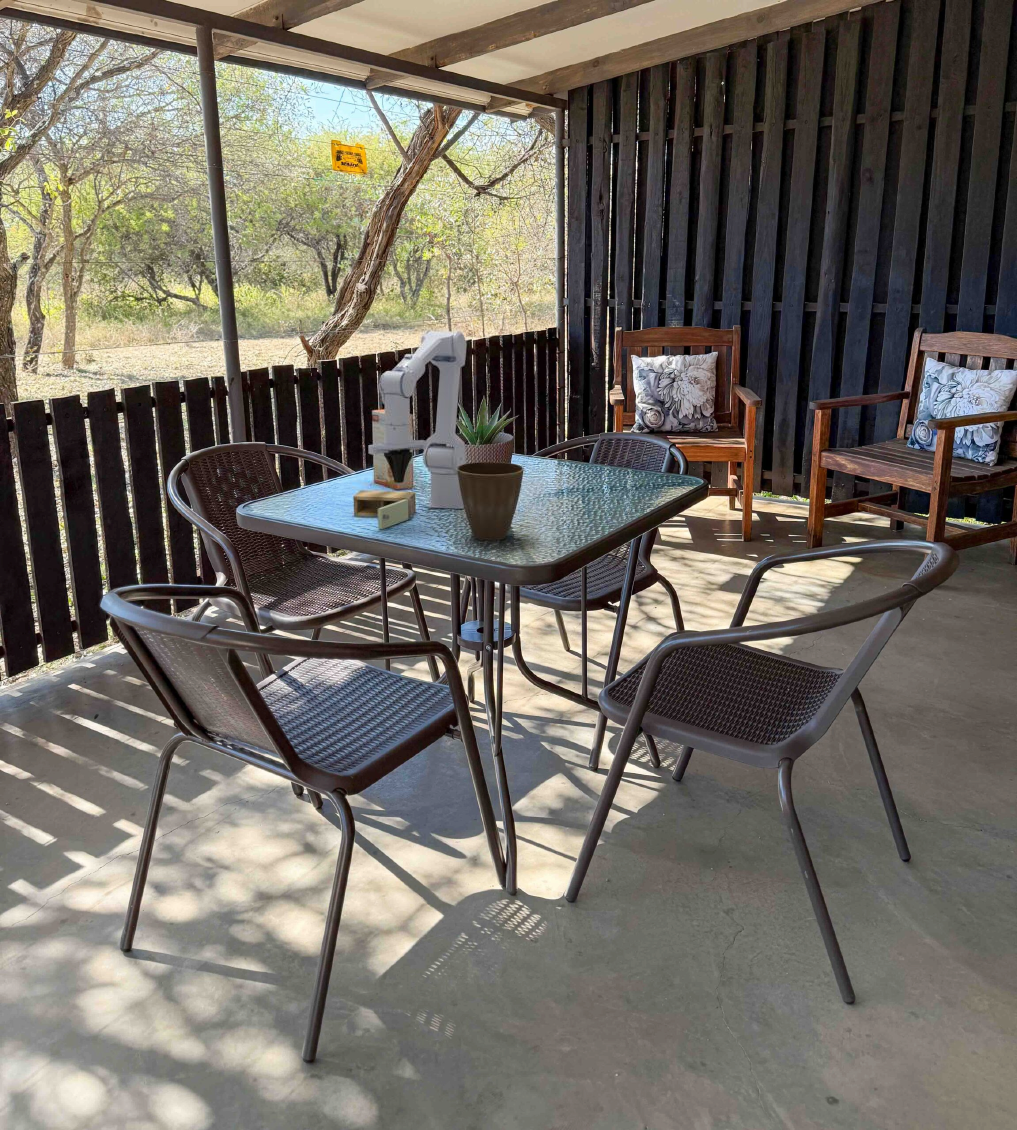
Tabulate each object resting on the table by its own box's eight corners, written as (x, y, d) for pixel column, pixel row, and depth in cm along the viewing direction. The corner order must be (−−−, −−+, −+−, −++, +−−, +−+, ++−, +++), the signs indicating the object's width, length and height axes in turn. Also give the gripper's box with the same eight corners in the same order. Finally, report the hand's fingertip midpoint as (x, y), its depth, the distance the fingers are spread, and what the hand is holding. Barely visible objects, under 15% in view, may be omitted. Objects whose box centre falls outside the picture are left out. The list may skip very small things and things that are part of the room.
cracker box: (415, 488, 268) (413, 413, 262) (395, 491, 265) (394, 415, 259) (391, 480, 279) (389, 408, 273) (373, 482, 276) (370, 409, 270)
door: (408, 517, 234) (407, 497, 233) (415, 518, 233) (415, 498, 232) (377, 529, 223) (377, 508, 221) (385, 530, 222) (384, 509, 220)
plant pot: (531, 543, 213) (532, 472, 208) (466, 547, 208) (466, 475, 204) (512, 527, 226) (512, 460, 222) (450, 531, 222) (450, 463, 218)
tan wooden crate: (415, 511, 241) (415, 492, 239) (409, 518, 234) (409, 498, 233) (361, 509, 242) (360, 490, 241) (354, 516, 236) (353, 496, 234)
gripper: (415, 419, 227) (416, 476, 231) (361, 424, 219) (363, 482, 222) (431, 423, 222) (431, 480, 225) (376, 428, 213) (378, 487, 217)
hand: (398, 482), depth 224 cm, fingers closed
